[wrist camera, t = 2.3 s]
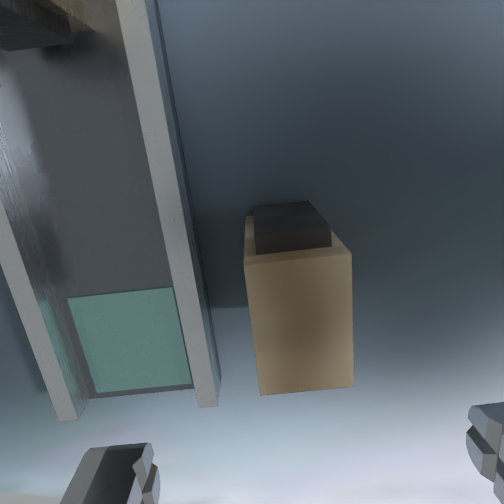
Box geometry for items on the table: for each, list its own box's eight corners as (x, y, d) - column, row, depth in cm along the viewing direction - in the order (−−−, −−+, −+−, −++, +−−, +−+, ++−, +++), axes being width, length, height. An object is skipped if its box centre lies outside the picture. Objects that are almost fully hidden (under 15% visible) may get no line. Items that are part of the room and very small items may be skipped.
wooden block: (312, 195, 20) (351, 232, 12) (318, 300, 22) (354, 386, 15) (243, 203, 20) (240, 244, 13) (256, 306, 22) (260, 395, 15)
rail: (129, -159, 15) (-28, -546, 6) (221, 376, 24) (206, 509, 15) (-94, -126, 15) (-528, -456, 7) (79, 390, 24) (-12, 528, 16)
